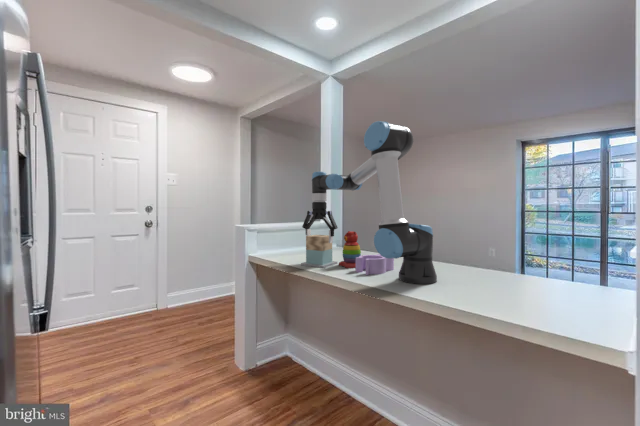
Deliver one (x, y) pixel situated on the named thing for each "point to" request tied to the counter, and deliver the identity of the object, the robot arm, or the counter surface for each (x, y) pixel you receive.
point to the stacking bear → (350, 250)
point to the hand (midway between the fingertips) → (319, 242)
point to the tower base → (319, 258)
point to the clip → (374, 264)
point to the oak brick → (318, 242)
